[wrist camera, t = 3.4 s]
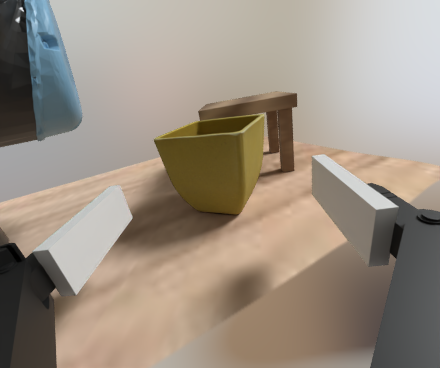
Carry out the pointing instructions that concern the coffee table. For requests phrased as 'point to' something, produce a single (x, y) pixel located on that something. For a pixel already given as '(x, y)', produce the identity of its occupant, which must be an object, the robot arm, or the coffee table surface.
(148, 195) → the coffee table surface
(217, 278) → the coffee table surface
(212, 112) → the stool
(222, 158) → the flower pot
